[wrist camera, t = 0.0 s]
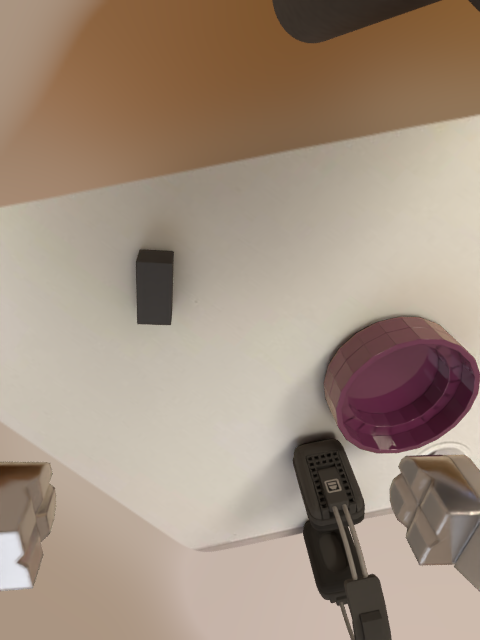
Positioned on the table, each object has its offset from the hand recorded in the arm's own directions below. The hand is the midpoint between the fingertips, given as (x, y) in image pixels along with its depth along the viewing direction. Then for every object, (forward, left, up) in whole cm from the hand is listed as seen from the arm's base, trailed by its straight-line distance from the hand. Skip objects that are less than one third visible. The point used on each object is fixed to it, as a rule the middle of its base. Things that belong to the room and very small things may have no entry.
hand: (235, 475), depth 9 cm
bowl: (+18, +22, -29) cm, 41 cm away
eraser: (+8, -4, -29) cm, 30 cm away
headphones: (+38, +18, -29) cm, 51 cm away
